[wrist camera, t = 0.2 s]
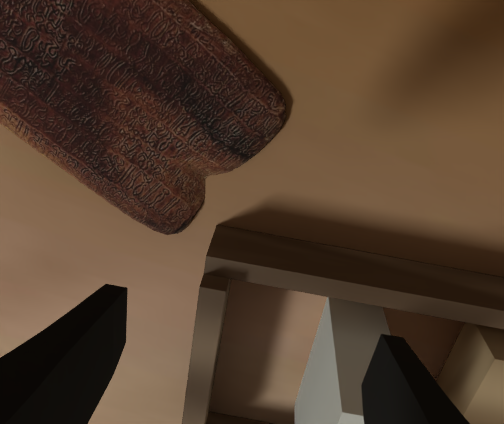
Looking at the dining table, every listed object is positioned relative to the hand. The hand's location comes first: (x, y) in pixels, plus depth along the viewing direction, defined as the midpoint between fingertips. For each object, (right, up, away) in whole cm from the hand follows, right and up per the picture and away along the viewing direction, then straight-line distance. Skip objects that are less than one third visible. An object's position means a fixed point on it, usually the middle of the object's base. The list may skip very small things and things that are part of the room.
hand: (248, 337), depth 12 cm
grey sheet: (+5, -5, +13) cm, 15 cm away
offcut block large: (+12, -7, +14) cm, 20 cm away
